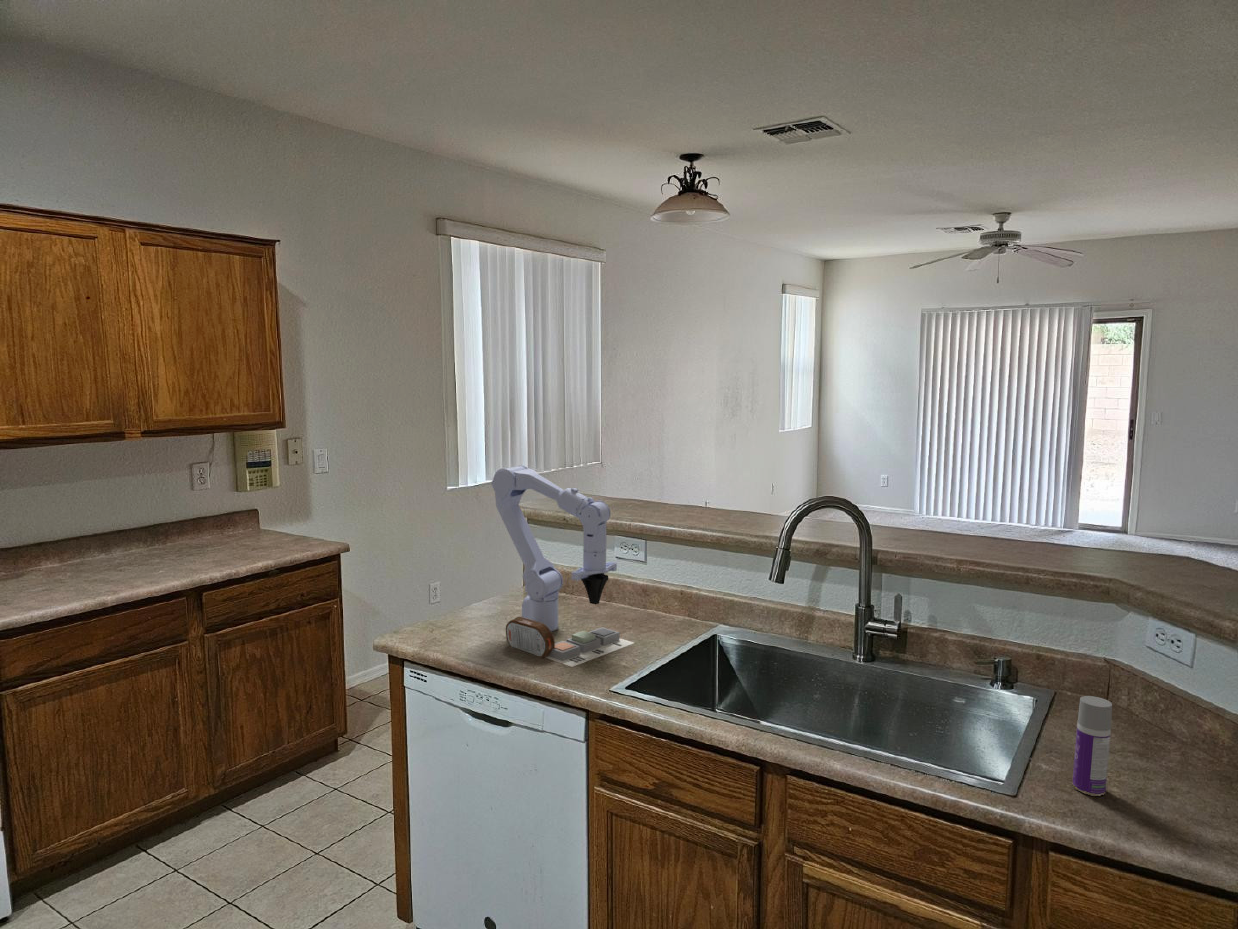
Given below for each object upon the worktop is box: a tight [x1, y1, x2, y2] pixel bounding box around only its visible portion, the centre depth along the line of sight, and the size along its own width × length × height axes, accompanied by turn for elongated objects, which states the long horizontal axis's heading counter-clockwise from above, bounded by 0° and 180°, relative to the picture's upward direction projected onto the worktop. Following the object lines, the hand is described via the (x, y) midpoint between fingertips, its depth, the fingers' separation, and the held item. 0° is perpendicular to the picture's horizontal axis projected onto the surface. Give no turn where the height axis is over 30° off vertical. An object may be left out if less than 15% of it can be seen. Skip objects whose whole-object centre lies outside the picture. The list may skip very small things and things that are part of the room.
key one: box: [592, 627, 614, 637], centre depth 194 cm, size 4×4×2 cm
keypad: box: [544, 626, 635, 668], centre depth 188 cm, size 12×22×3 cm, turn 139°
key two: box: [571, 630, 595, 644], centre depth 189 cm, size 4×4×2 cm
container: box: [1072, 695, 1113, 794], centre depth 127 cm, size 5×5×15 cm
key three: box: [554, 641, 575, 651], centre depth 184 cm, size 4×4×2 cm
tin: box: [505, 616, 556, 659], centre depth 186 cm, size 15×3×8 cm, turn 48°
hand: (594, 603), depth 197 cm, fingers closed
